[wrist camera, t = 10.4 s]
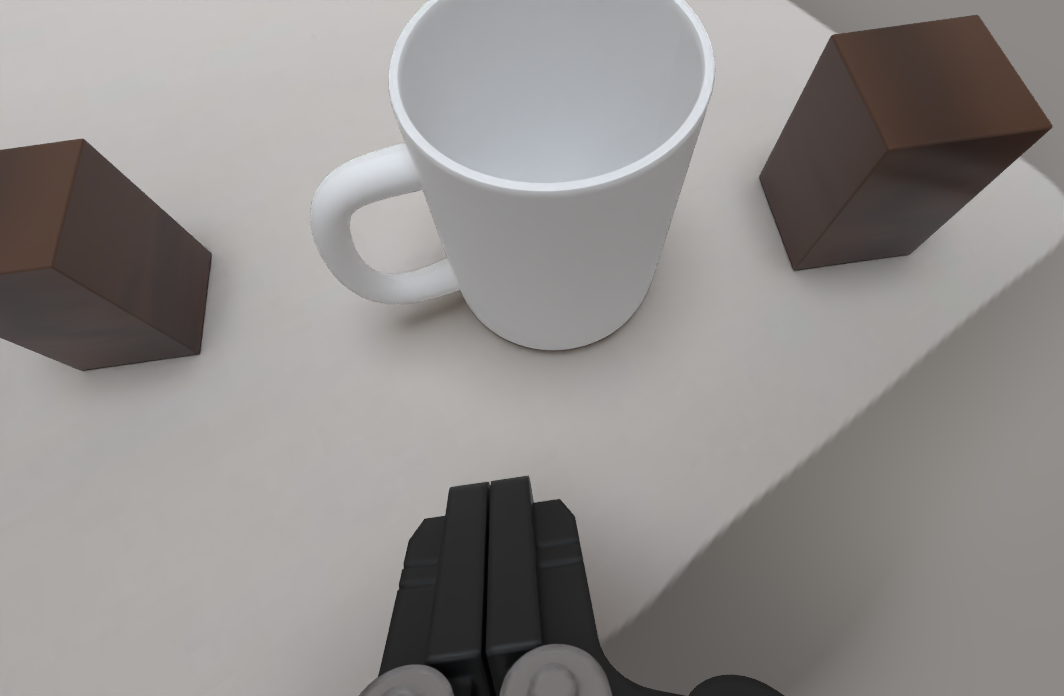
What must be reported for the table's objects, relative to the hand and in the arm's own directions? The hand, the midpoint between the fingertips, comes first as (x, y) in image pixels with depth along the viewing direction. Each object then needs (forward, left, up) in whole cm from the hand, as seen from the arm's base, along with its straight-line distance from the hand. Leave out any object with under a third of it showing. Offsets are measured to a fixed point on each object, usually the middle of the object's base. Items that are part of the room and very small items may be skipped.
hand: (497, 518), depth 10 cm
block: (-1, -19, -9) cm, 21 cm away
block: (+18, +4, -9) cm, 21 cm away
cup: (+7, -7, -9) cm, 14 cm away
